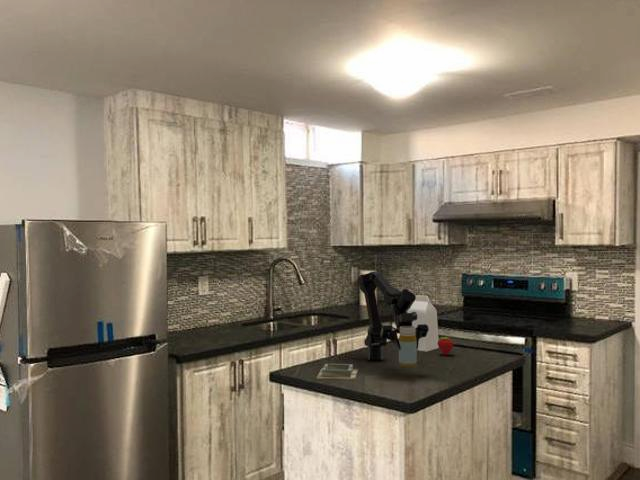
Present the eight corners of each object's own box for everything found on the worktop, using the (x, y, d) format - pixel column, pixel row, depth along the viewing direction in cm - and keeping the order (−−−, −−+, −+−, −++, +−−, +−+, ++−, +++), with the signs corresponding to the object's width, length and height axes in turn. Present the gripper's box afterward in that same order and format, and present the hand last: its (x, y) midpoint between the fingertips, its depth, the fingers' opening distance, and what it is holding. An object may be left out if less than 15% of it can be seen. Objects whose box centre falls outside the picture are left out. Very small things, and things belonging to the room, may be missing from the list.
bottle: (414, 362, 230) (414, 325, 230) (418, 366, 223) (418, 328, 223) (397, 362, 230) (397, 325, 229) (400, 367, 223) (400, 328, 222)
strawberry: (450, 357, 261) (450, 335, 261) (435, 355, 265) (435, 334, 265) (455, 355, 266) (455, 333, 266) (440, 353, 270) (440, 332, 270)
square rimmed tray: (321, 369, 238) (321, 362, 238) (357, 370, 236) (357, 363, 236) (316, 379, 224) (316, 371, 224) (354, 380, 222) (354, 372, 222)
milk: (405, 348, 282) (405, 295, 282) (418, 344, 291) (418, 293, 291) (426, 351, 274) (426, 297, 274) (439, 347, 283) (438, 295, 282)
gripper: (382, 305, 229) (388, 338, 218) (427, 304, 231) (436, 336, 220) (377, 321, 237) (384, 354, 226) (421, 320, 239) (429, 352, 228)
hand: (408, 349), depth 225 cm, fingers closed on bottle, 7 cm apart
